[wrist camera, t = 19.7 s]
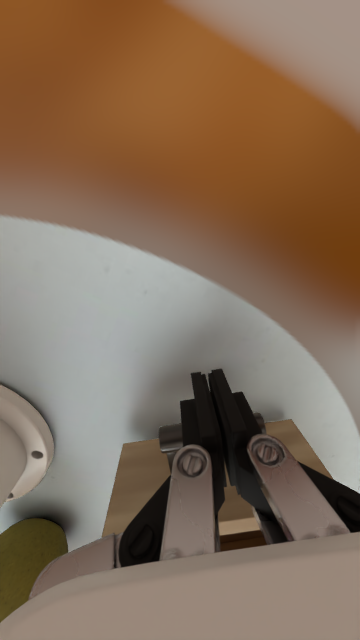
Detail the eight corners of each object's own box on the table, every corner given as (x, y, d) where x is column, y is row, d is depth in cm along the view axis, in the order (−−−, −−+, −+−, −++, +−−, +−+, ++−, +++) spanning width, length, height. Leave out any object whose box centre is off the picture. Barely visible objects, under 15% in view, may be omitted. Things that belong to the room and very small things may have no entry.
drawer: (109, 400, 15) (76, 487, 10) (294, 373, 15) (363, 445, 10) (153, 542, 21) (148, 644, 16) (285, 523, 21) (326, 619, 16)
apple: (72, 497, 20) (22, 626, 13) (88, 546, 22) (53, 675, 16) (-12, 503, 20) (-106, 639, 13) (15, 553, 22) (-52, 686, 16)
